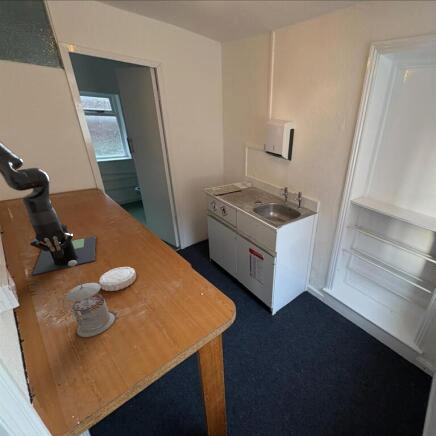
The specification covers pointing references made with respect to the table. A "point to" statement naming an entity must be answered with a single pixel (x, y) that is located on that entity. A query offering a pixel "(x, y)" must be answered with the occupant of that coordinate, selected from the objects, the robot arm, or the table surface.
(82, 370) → the table surface
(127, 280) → the mooncake
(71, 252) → the aerosol can
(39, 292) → the table surface
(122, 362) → the table surface
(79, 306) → the french press
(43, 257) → the board
